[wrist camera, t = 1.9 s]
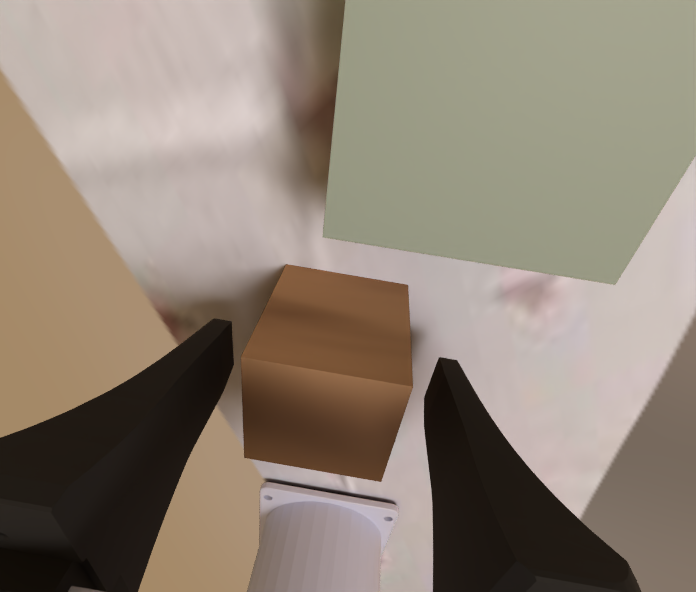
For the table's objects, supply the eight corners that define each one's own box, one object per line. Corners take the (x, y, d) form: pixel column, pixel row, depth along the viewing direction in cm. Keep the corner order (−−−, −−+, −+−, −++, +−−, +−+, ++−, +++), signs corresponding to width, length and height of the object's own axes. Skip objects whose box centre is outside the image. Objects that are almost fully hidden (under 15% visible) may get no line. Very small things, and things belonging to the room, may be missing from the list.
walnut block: (385, 371, 16) (381, 481, 12) (282, 353, 17) (244, 457, 12) (407, 284, 14) (413, 386, 10) (286, 263, 14) (240, 357, 10)
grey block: (539, 199, 12) (614, 284, 8) (348, 168, 12) (322, 237, 8) (649, -60, 8) (886, -155, 4) (381, -99, 9) (367, -230, 4)
